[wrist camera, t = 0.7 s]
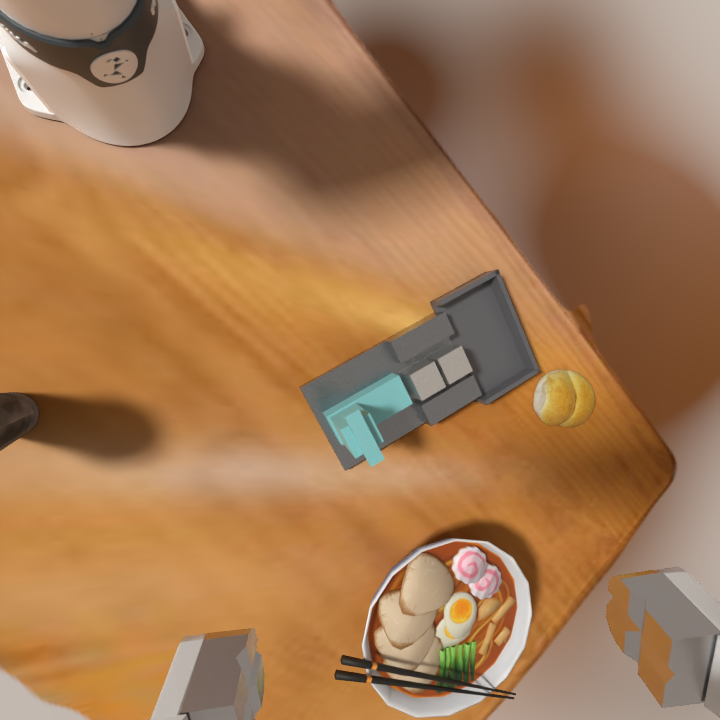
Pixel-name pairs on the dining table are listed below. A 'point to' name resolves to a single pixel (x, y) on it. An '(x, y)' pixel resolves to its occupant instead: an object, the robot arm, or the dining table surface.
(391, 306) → the dining table surface
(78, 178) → the dining table surface
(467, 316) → the tray
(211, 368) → the dining table surface
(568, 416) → the bread roll
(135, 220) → the dining table surface
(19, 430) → the beverage cup
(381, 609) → the ramen bowl
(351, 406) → the rake tool
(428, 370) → the beige cube
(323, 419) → the slot board
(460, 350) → the chip
